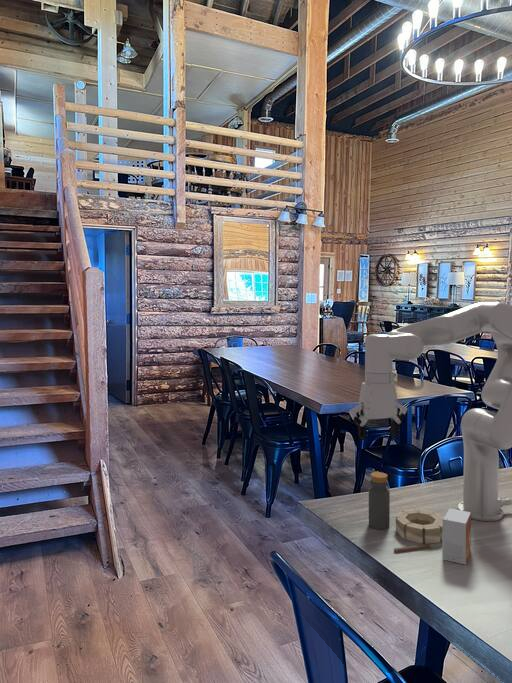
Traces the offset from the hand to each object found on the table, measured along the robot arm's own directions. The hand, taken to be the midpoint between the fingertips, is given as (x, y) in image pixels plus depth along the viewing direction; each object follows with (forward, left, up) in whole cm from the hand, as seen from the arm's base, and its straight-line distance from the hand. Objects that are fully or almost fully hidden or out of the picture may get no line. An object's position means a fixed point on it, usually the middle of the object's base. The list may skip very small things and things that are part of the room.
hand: (378, 437), depth 142 cm
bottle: (0, 0, -26) cm, 26 cm away
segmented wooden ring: (-9, +7, -26) cm, 28 cm away
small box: (-11, +21, -26) cm, 35 cm away
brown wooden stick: (-2, +15, -26) cm, 30 cm away
